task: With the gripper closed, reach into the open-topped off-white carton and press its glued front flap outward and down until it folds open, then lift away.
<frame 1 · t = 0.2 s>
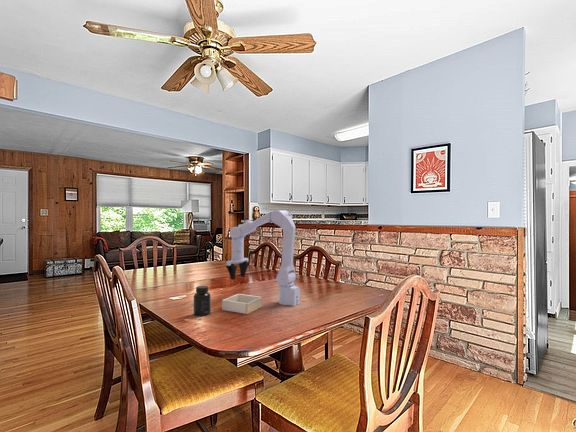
hand: (237, 278, 156), 10 cm above the table, tool pointing down, fingers open, 7 cm apart
carton: (241, 309, 137), on the table
flap: (254, 305, 134), point 3 cm above the table, hinge at 0.0°
supplement bottle: (202, 316, 129), on the table
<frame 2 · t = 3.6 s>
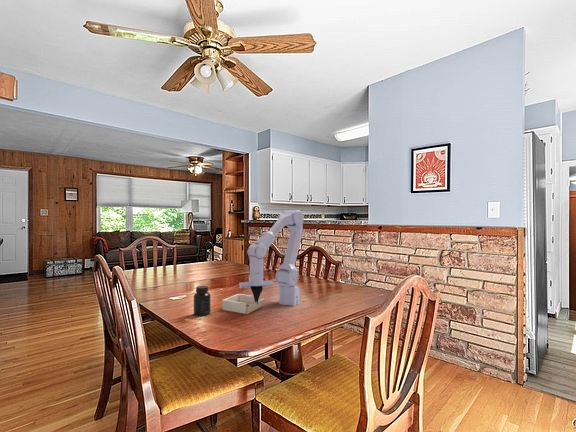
hand: (256, 303, 134), 4 cm above the table, tool pointing down, fingers closed, pressing on flap
flap: (256, 305, 134), point 3 cm above the table, hinge at 22.4°, touching gripper
everything else where it was.
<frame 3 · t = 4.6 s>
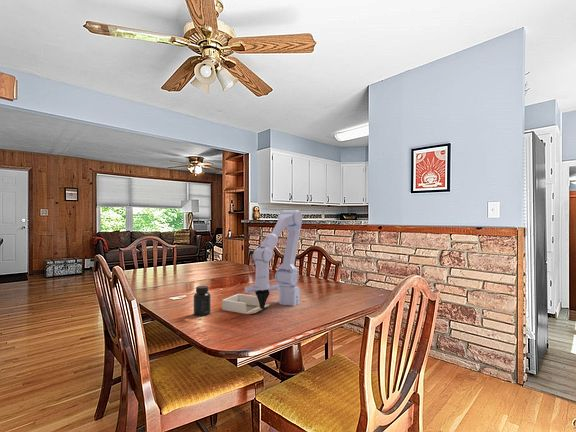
hand: (262, 308, 132), 2 cm above the table, tool pointing down, fingers closed, pressing on flap
flap: (258, 309, 133), point 1 cm above the table, hinge at 72.3°, touching gripper
everything else where it was.
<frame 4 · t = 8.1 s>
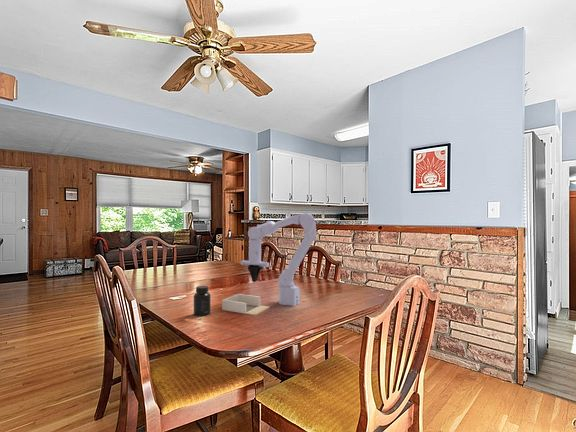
hand: (254, 281, 147), 10 cm above the table, tool pointing down, fingers closed
flap: (258, 310, 133), point 1 cm above the table, hinge at 87.9°
everything else where it was.
at the end: flap at +88° (first picture: +0°); the gripper is holding nothing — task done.
